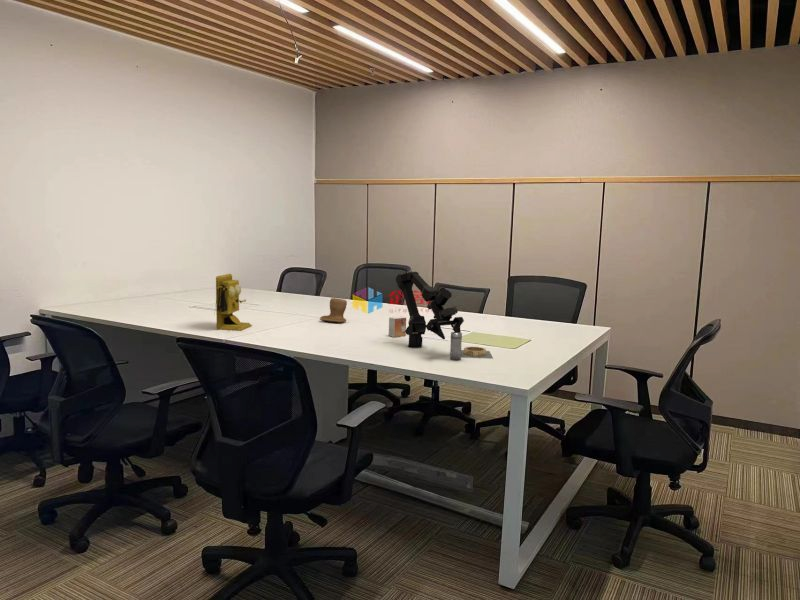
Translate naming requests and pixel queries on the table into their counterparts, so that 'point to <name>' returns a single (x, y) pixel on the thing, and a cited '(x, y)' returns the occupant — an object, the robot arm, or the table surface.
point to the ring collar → (474, 351)
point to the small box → (397, 326)
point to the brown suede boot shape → (336, 311)
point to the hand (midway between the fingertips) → (452, 338)
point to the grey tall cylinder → (455, 346)
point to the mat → (488, 355)
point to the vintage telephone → (228, 304)
